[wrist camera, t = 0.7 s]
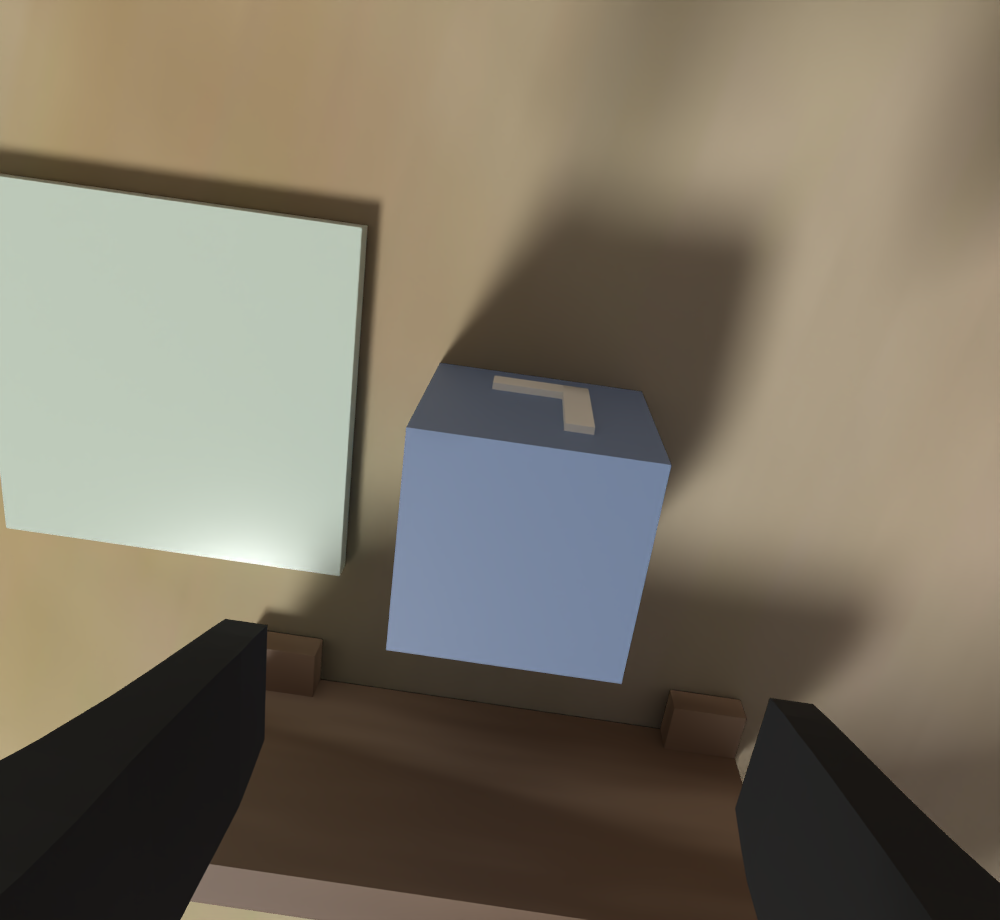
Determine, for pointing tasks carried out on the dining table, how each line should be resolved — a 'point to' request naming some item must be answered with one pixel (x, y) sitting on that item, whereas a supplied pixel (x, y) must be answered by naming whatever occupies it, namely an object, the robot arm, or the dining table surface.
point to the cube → (525, 523)
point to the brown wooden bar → (479, 808)
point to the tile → (178, 373)
